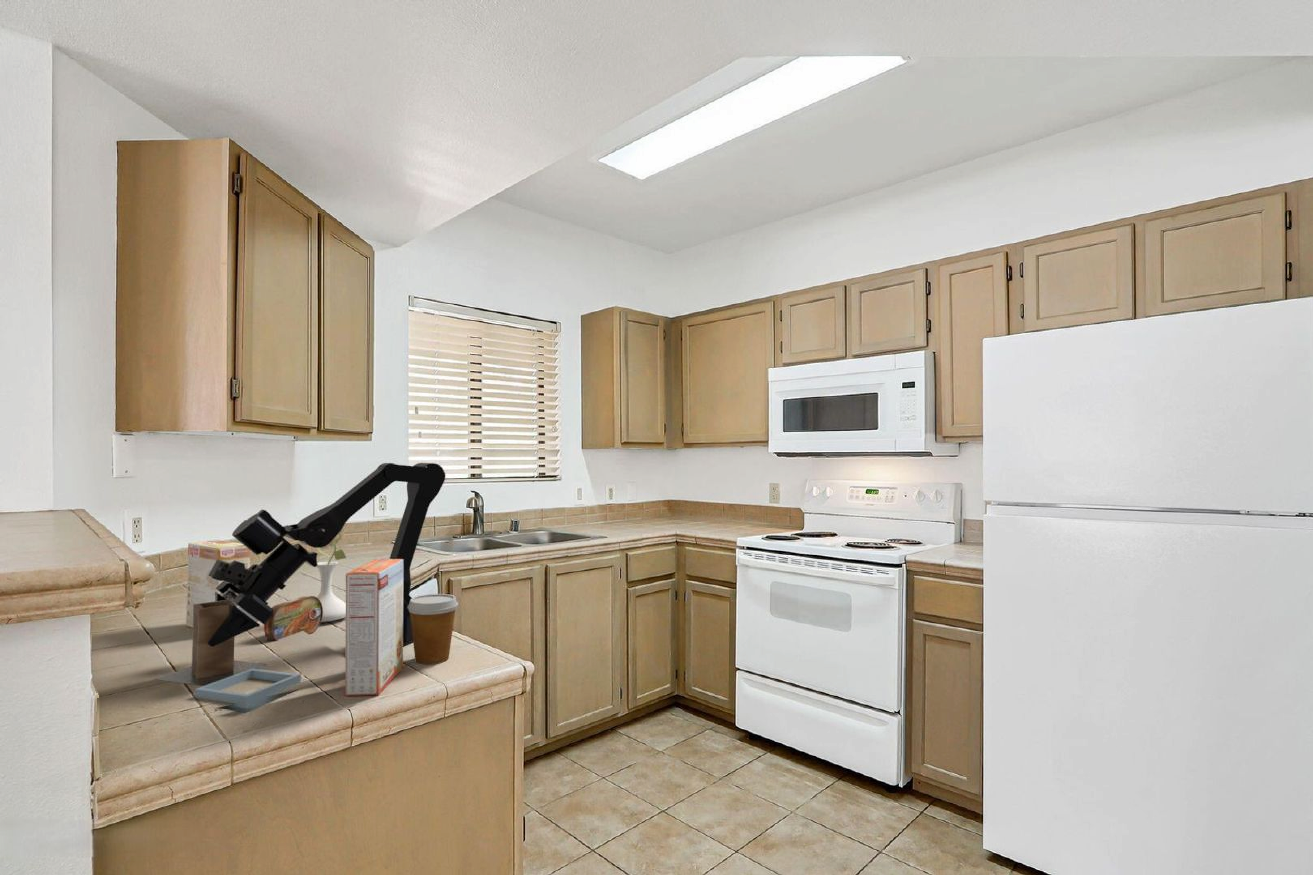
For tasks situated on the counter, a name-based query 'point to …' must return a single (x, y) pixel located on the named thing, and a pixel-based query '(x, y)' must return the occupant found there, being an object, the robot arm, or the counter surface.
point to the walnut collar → (204, 627)
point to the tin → (294, 618)
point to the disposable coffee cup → (432, 626)
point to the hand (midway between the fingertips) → (204, 639)
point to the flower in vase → (329, 601)
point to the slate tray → (254, 698)
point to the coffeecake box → (201, 565)
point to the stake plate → (189, 678)
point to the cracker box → (373, 626)
